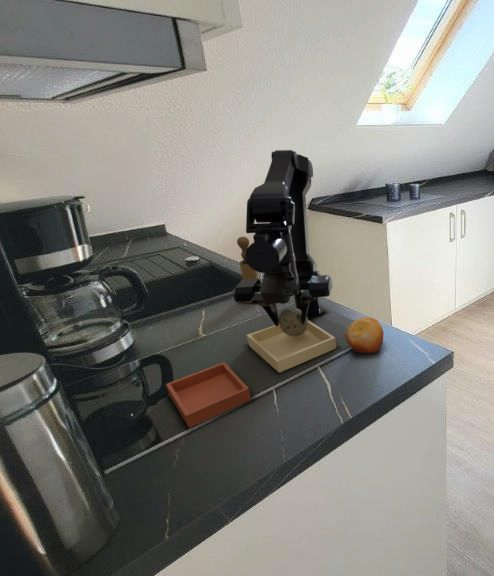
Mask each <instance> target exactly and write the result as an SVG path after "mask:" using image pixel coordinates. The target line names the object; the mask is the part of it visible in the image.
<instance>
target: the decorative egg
mask: <svg viewBox="0 0 494 576" xmlns="http://www.w3.org/2000/svg"><path fill="white" fill-rule="evenodd" d="M278 318H279V325H280V328H281V329H282V331H283V332H284V333H285V334H287V335H289V336H293V337H295V336H300V335H302V334H303V333H304V332H305V331H306V330H307V328H308V321H309V319H308V318H307V317H306V321H305V324H304V325H303V324H302V319H301V310H299V309H297V308H296V307H292V306H291V307H286V308H284V309H283V310H282V311H281V312H280V313H279V315H278Z"/></svg>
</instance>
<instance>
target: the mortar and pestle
mask: <svg viewBox="0 0 494 576" xmlns="http://www.w3.org/2000/svg"><path fill="white" fill-rule="evenodd" d="M236 243H237V246H238V248H240V249H241V253H240V256H241V258H242V260H240V261H239V267H240V272H241V277H242V280H246V279H259V276H258V272H257V271H255V270H253V269H252V268H251V267H250V266H249V265H248V263H247V262H246V259H245V255H246V250H247V248H248V247H249V246H250V240H249V238H248V237H247V236H239V237H238V238H237V240H236ZM252 300H253V299H251V301H246V302H243V303H244V304H253V303H252Z"/></svg>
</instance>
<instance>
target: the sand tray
mask: <svg viewBox="0 0 494 576" xmlns="http://www.w3.org/2000/svg"><path fill="white" fill-rule="evenodd" d="M246 339H247V343H248V346H249V347H250V348H251V349H252V351H254V352H255V353H256V354H258V355H259V357H261V358H262V359H263V360H264V361H265V362H266V363H267V364H269V365H270V366H271V367H272V368H273V369H274V370H275V371H277V372H278V373H279V374H280V373H282V372H284V371H287V370H289V369H291V368H293V367H296V366H299V365H301V364H303V363H305V362H308V361H310V360H313V359H314V358H315V359H316V358H317V357H319V356H323V355H325V354H327V353H329V352H331V351H334V350H335V349H337V342H336V341H337V340H336V337H335V336H333V335H332V334H330V333H329V332H327V331H325V330H324V329H323V328H321V327H319V326H318V325H316V324H315V323H313V322H311V321H310V320H308V328H307V330H306V331H305V332H304V333H303V334H302V335H300V336H295V337H293V336H289V335H287V334H285V333H284V332H283V331H282V329H281V328H280V325H278V326H275V324H273V325H272V326H269V327H266V328H263V329H260V330H256V331H254V332H252V333H249V334H246Z"/></svg>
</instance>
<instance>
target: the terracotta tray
mask: <svg viewBox="0 0 494 576" xmlns="http://www.w3.org/2000/svg"><path fill="white" fill-rule="evenodd" d="M165 386H166V389H167V392H168V395H169V397H170V399H171V400H172V402H173V404H174V406H175V407H176V408H177V411H178V412H179V414H180V416H181V417H182V419H183V420H184V422H185V424H186V425H187V427H188V428H189V429H190V428H193V427H195V426H197V425H199V424H201V423H203V422H206V421H207V420H210V419H212V418H214V417H218V416H219V415H221V414H222V413H226V412H227V411H229V410H232V409H234V408H237V407H238V406H241V405H243V404H245V403H247V402H250V401H251V400H252V397H251V391H250V388H249V387H248V385H246V383H244V381H243V380H242V379H241V378H240V377H239V376H238V375H237V374H236V373H235V372H234V371H233V369H232V368H231V367H230V366H229V365H228V364H227V363H226V362H225V361H224V362H221V363H218V364H215V365H213V366H210V367H208V368H205V369H202V370H199V371H197V372H195V373H192V374H189V375H185V376H184V377H181V378H179V379H175V380H173V381H170V382H168V383H166V384H165Z"/></svg>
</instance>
